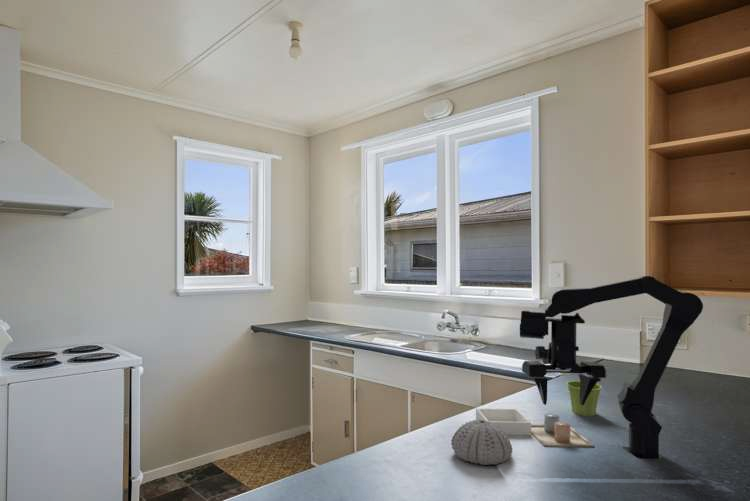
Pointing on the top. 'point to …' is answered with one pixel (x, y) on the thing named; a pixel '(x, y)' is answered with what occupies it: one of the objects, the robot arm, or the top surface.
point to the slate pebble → (550, 422)
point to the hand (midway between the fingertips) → (563, 404)
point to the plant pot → (589, 404)
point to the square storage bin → (506, 420)
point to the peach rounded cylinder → (562, 432)
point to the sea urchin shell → (481, 443)
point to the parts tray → (549, 441)
